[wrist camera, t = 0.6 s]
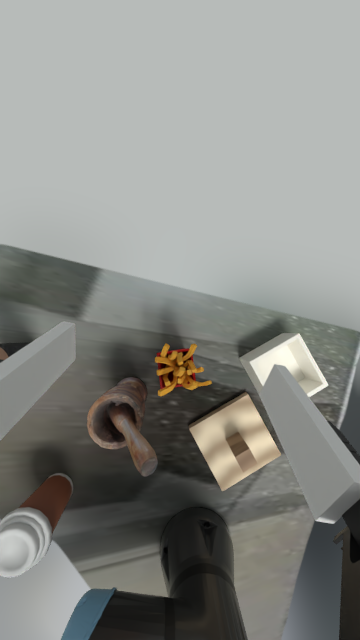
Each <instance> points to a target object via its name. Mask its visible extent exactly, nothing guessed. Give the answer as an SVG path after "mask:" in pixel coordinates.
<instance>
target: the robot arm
mask: <svg viewBox="0 0 360 640" xmlns="http://www.w3.org/2000/svg"><path fill="white" fill-rule="evenodd" d="M75 360H76V342H75V323H70V322H65V321H62V322H61V323H59V324H58V325H56V326H55V327H53V328H52V329H50V330H49V331H48V332H46V333H45V334H43V335H42V336H40V337H39V338H37V339H36V340H34V341H33V342H31V343H30V344H28V345H27V346H25V347H24V348H22V349H21V350H19V351H18V352H16V353H15V354H13V355H12V356H10V357H9V358H7V359H6V360H1V359H0V441H1V439H2V438H3V437H4V436H5V435H6V434H7V433H8V432H9V431H10V430H11V429H12V428H13V426H14V425H15V424H16V423H17V422H18V421H19V420H20V419H21V418H22V417H23V416H24V415H25V414H26V412H27V411H28V410H29V409H30V408H31V407H32V406H33V405H34V404H35V403H36V402H37V401H38V399H39V398H40V397H41V396H42V395H43V394H44V393H45V392H46V391H47V390H48V389H49V388H50V387H51V385H52V384H53V383H54V382H55V381H56V380H57V379H58V378H59V377H60V376H61V375H62V374H63V372H64V371H65V370H66V369H67V368H68V367H69V366H70V365H71V364H72V363H73V362H74V361H75ZM259 396H260V398H261V400H262V403H263V405H264V407H265V409H266V412H267V414H268V416H269V418H270V420H271V423H272V425H273V427H274V429H275V432H276V434H277V436H278V438H279V441H280V443H281V445H282V447H283V449H284V452H285V454H286V456H287V458H288V461H289V463H290V465H291V467H292V470H293V472H294V474H295V476H296V479H297V481H298V483H299V485H300V487H301V490H302V492H303V494H304V496H305V499H306V501H307V503H308V505H309V508H310V510H311V512H312V514H313V517H314V519H315V521H320V522H326V523H332V524H334V523H335V522H336V521H337V520H338V519H339V518H340V517H343V519H344V520H345V522H346V524H347V527H346V528H345V529H343V530H342V531H341V532H340V533H339V534H338V535H336V536H335V538H334V540H333V542H334V543H335V544H337V543H339V542H340V541H341V540H343V547H342V548H341V549H342V550H343V559H342V581H341V582H342V583H341V606H340V607H341V608H340V632H339V633H340V634H339V640H360V456H359V455H358V454H357V453H356V450H355V449H354V448H353V447H352V445H350V444H349V441H348V440H347V439H346V438H345V436H344V435H343V434H342V433H341V432H340V431H339V430H338V429H337V428H336V427H335V426H334V425H333V424H332V423H331V422H329V421H326V419H325V418H324V417H323V415H322V414H321V413H320V411H319V410H318V409H317V407H316V406H315V405H314V403H313V402H312V401H311V399H310V398H309V397H308V395H307V394H306V393H305V391H304V390H303V389H302V387H301V386H300V385H299V383H298V382H297V381H296V380H295V378H294V377H293V376H292V374H291V373H290V372H289V370H288V369H287V368H286V366H282V365H277V364H274V366H273V368H272V370H271V372H270V374H269V376H268V378H267V380H266V382H265V384H264V386H263V388H262V390H261V392H260V394H259ZM161 567H162V571H163V575H164V580H165V584H166V589H167V593H168V597H163V596H155V595H147V594H138V593H131V592H124V591H117V588H113V589H91V590H89V591H88V592H86V593H85V594H84V595H83V597H82V598H81V599H80V601H79V602H78V604H77V606H76V607H75V609H74V612H73V613H72V615H71V618H70V620H69V622H68V624H67V627H66V629H65V631H64V633H63V636H62V638H61V640H248V639H247V635H246V631H245V627H244V623H243V619H242V615H241V611H240V607H239V603H238V599H237V596H236V592H235V587H234V552H233V545H232V541H231V537H230V534H229V531H228V528H227V526H226V524H225V522H224V521H223V520H222V518H221V517H220V516H219V515H217V514H216V513H215V512H213V511H211V510H209V509H205V508H199V507H196V508H189V509H186V510H183V511H181V512H180V513H178V514H177V515H175V516H174V517H173V518H172V519H171V520H170V522H169V523H168V524H167V526H166V528H165V530H164V533H163V536H162V540H161Z"/></svg>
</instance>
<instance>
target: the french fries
mask: <svg viewBox="0 0 360 640" xmlns="http://www.w3.org/2000/svg"><path fill="white" fill-rule="evenodd" d="M169 347H170V345H168V344H167V343H166V344H165V345H164V347H163V349H162V352H159V353H157V357H155V362H157V363H158V370H157V375H159V380H160V388H161V390H158V395H159V396H160V397H161V396H163V395H165V394H167V393H169V392H170V391H172V390H173V389H174V387H180V386H183V387H185V388H186V389H189V390H192V389H195V388H197V386H205V385H210V384H212V383H211V381H207V382H204V383H201V382H197V381H196V379H195V373H199V372H202V371H204V368H202V367H200V368H197V369H196V367H195V365H194V363H193V355H192V354H193V353H194V351H195V349H196V347H197V345H196V344H191V347H190V349H177V350H170V351H168V350H169Z"/></svg>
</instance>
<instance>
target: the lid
mask: <svg viewBox="0 0 360 640" xmlns="http://www.w3.org/2000/svg"><path fill="white" fill-rule="evenodd" d="M189 430H190V431H191V433H192V435H193V437H194V439H195V441H196V443H197V445H198V446H199V448H200V450H201V452H202V454H203V456H204V458H205V460H206V461H207V463H208V465H209V467H210V469H211V471H212V473H213V474H214V476H215V478H216V480H217V482H218V484H219V486H220V488H221V489H222V491H224V490H226V489H227V488H229V487H231V486H232V485H234V484H235V483H237V482H239V481H240V480H242V479H243V478H245V477H247V476H248V475H250V474H251V473H253V472H255V471H256V470H258V469H259V468H261V467H263V466H264V465H266V464H267V463H269V462H271V461H272V460H274V459H275V458H277V457H279V456H280V455H281V453H280V452H279V450H278V448H277V446H276V444H275V442H274V441H273V439H272V437H271V435H270V433H269V431H268V430H267V428H266V426H265V424H264V422H263V421H262V419H261V417H260V415H259V413H258V411H257V410H256V408H255V406H254V404H253V402H252V401H251V399H250V397H249V395H248V394H247V393H246V392H245V393H243V394H241V395H240V396H238V397H236V398H234V399H233V400H231V401H229V402H228V403H226V404H224V405H223V406H221V407H219V408H217V409H216V410H214V411H212V412H211V413H209V414H207V415H206V416H204V417H202V418H200V419H199V420H197V421H195V422H194V423H192V424H190V425H189Z"/></svg>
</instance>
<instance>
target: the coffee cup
mask: <svg viewBox="0 0 360 640" xmlns="http://www.w3.org/2000/svg"><path fill="white" fill-rule="evenodd" d="M72 493H73V482H72V480H71V478H70V477H68V476H67V475H66V474H63V473H55V474H53V475H51V476H49V477H48V478H47V479H46V480H45V482H44V483H43V484H42V485H41V486H40V487H39V488H38V489H37V490H36V491H35V492H34V493H33V494H32V495H31V496H30V497H29V498H28V499H27V500H26V501H25V502H24V503H23V504H22V505H21V506H20V507H19V508H18V509H16V510H14V511H11V512H9V513H8V514H7V515H6V516H5V517H4V518H3V519H2V520H1V521H0V576H3V577H6V578H8V577H16V576H19V575H20V574H22V573H24V572H26V571H27V570H28V569H30V568H31V567H34V566H35V565H37V564H38V563H39V562H40V560H41V559H42V558H43V557H44V556H45V555H46V553H47V551H48V548H49V546H50V543H51V541H52V533H53V531H54V529H55V527H56V525H57V523H58V521H59V519H60V517H61V515H62V513H63V511H64V509H65V507H66V505H67V503H68V501H69V499H70V497H71V495H72Z"/></svg>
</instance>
